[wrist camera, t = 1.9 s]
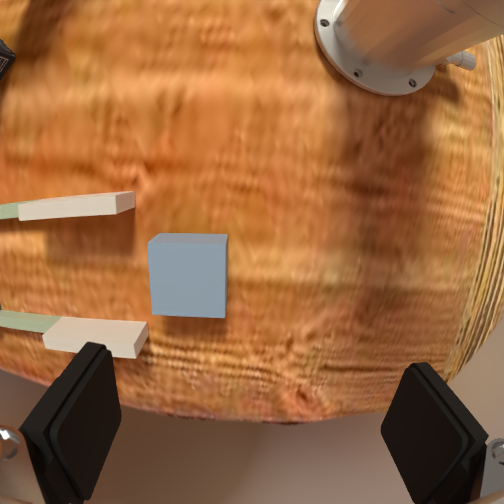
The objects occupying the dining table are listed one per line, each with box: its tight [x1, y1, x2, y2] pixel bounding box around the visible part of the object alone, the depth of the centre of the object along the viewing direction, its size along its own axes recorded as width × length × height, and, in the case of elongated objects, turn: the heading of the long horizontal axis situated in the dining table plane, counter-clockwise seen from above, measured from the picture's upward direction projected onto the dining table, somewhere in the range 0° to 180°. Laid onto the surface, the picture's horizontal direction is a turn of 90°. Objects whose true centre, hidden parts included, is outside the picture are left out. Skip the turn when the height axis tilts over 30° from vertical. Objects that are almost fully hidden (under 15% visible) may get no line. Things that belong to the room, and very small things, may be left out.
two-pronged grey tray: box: [0, 191, 149, 359], centre depth 25 cm, size 29×14×4 cm, turn 90°
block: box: [147, 233, 228, 318], centre depth 26 cm, size 6×6×4 cm
